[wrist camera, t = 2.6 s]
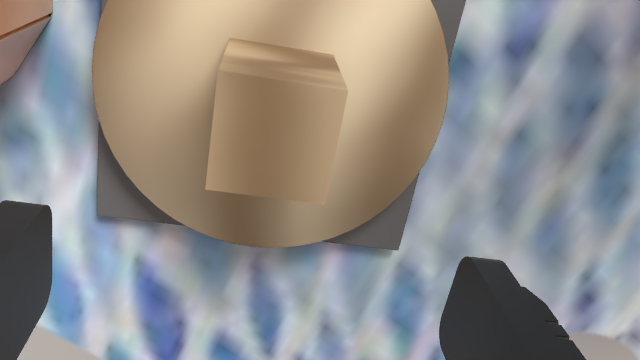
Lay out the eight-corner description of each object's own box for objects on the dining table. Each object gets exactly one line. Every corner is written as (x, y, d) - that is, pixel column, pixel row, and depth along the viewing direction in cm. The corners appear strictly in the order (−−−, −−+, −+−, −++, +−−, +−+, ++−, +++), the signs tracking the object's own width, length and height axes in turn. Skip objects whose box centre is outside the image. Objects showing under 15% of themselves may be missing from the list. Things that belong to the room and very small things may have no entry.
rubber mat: (477, -61, 23) (482, -61, 22) (395, 243, 28) (398, 250, 28) (109, -134, 21) (104, -136, 20) (100, 209, 26) (96, 215, 26)
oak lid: (482, -60, 22) (553, -51, 16) (398, 250, 28) (429, 335, 22) (105, -136, 20) (39, -155, 14) (96, 214, 26) (47, 298, 20)
